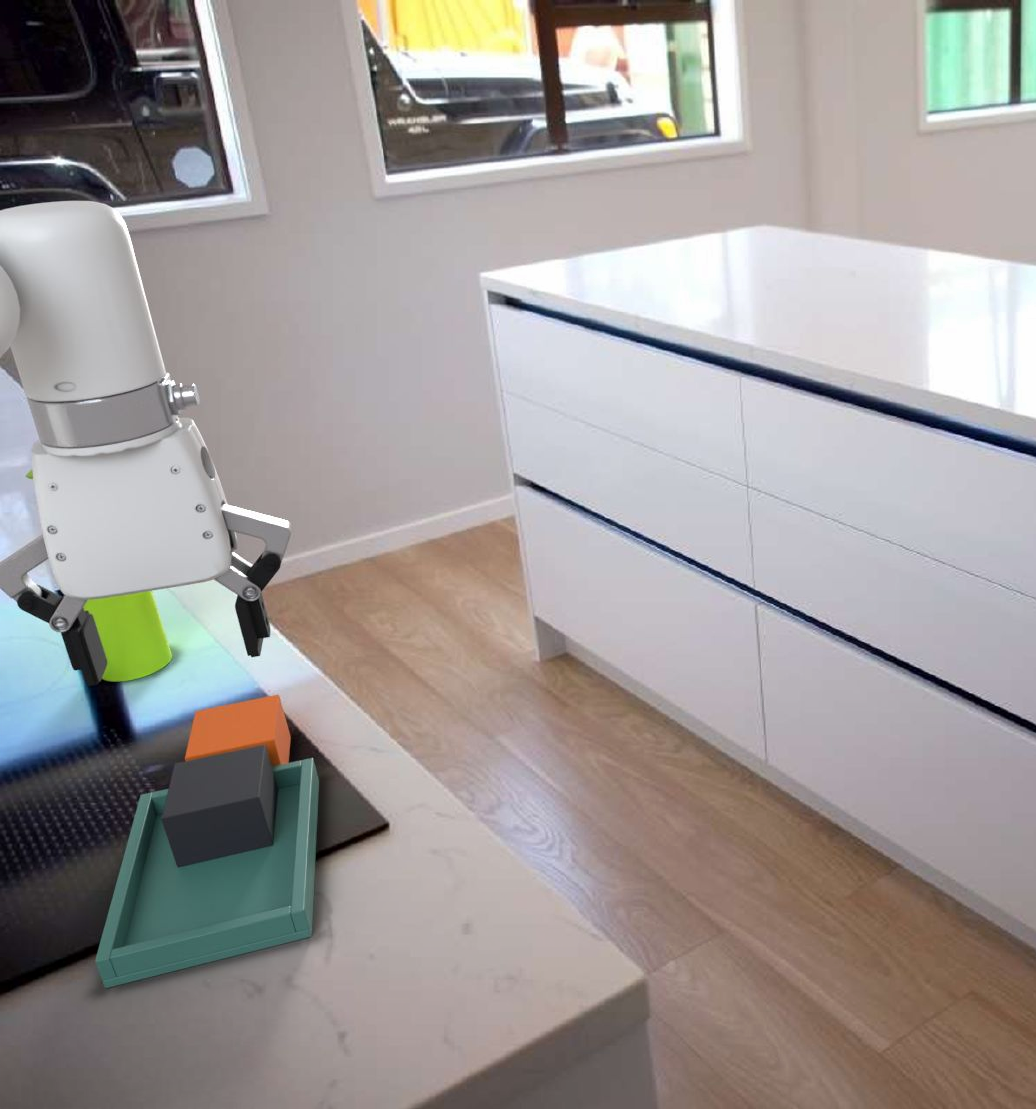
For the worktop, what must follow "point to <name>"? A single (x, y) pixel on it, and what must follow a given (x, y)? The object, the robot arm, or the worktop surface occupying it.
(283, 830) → the tray
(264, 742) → the orange block
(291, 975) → the worktop surface
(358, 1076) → the worktop surface
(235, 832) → the dark grey block
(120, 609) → the soap dispenser
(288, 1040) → the worktop surface
